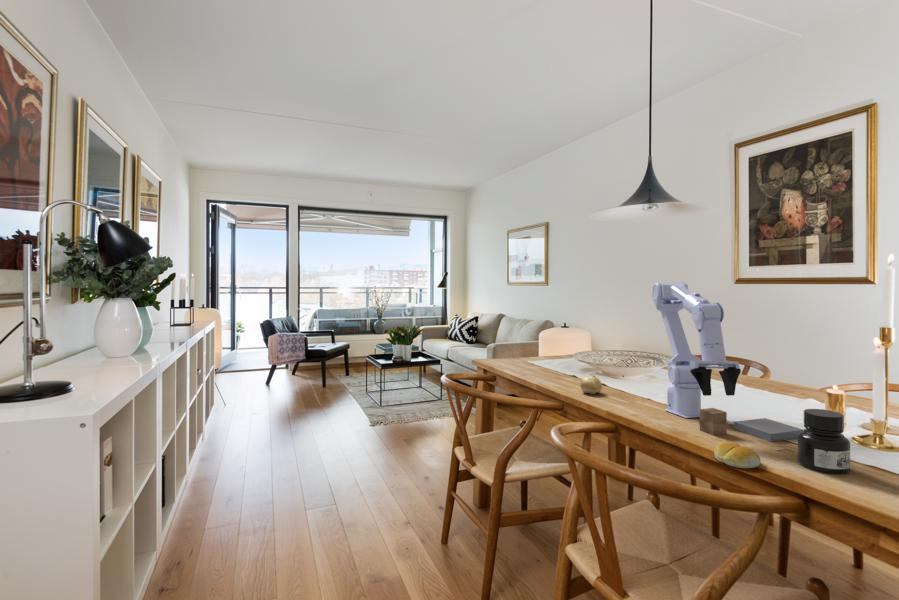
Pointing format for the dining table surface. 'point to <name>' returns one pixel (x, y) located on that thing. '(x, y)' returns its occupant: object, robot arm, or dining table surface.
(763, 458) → the dining table surface
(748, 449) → the bread roll
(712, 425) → the walnut block
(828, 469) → the ink bottle
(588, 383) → the onion
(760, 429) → the slate base
